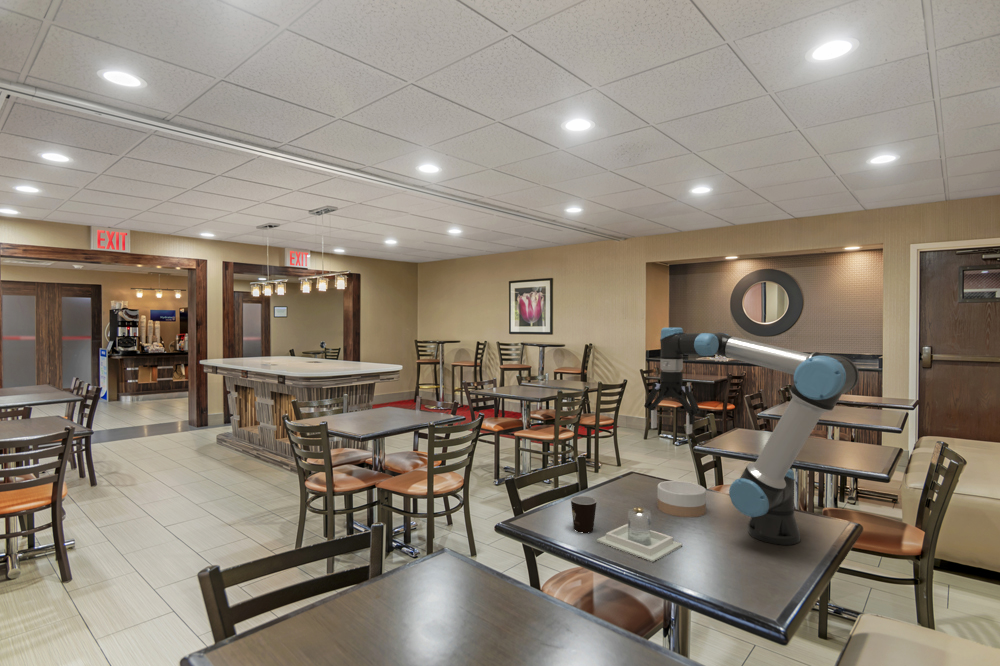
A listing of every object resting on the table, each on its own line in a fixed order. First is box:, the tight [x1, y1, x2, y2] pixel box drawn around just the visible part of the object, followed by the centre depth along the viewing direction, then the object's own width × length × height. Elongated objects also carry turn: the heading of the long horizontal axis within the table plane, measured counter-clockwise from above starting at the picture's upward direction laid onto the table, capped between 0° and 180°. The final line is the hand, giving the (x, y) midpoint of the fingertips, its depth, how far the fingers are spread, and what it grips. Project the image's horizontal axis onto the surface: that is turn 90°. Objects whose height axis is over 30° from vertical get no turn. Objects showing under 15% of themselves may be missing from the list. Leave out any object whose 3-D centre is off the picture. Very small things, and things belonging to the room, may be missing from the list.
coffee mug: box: [570, 495, 597, 534], centre depth 176 cm, size 12×9×10 cm
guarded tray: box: [596, 523, 683, 561], centre depth 163 cm, size 20×17×3 cm
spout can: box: [627, 506, 652, 546], centre depth 163 cm, size 7×7×11 cm
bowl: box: [657, 480, 707, 518], centre depth 195 cm, size 17×17×8 cm
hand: (671, 430), depth 183 cm, fingers open, 13 cm apart
